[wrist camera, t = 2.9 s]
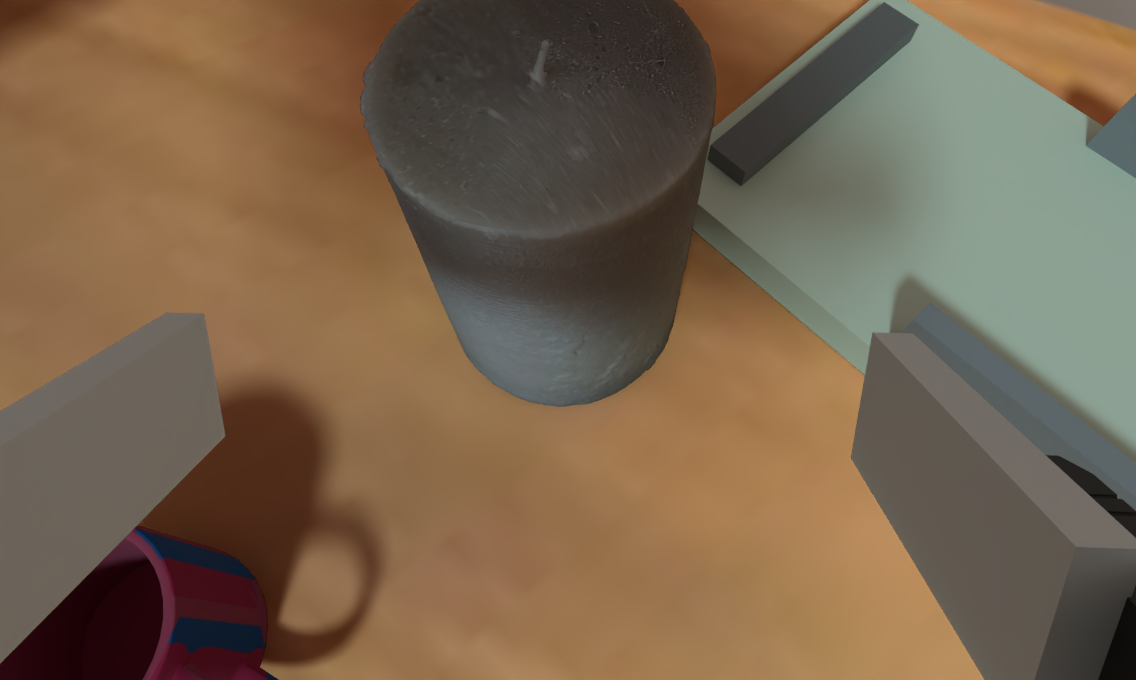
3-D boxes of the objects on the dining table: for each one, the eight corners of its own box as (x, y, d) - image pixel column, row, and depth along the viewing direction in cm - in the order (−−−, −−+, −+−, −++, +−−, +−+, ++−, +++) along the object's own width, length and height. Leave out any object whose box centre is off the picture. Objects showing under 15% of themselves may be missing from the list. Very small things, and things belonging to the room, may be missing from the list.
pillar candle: (647, 196, 35) (679, -112, 21) (696, 390, 31) (775, 167, 17) (441, 229, 34) (335, -61, 21) (463, 430, 30) (352, 236, 17)
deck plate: (655, 198, 35) (664, 134, 30) (871, 19, 39) (905, -58, 34) (1176, 638, 26) (1284, 634, 22) (1379, 354, 31) (1502, 306, 26)
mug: (169, 515, 29) (55, 475, 23) (377, 648, 27) (314, 644, 21) (46, 678, 27) (-117, 683, 21) (262, 838, 25) (154, 897, 19)
